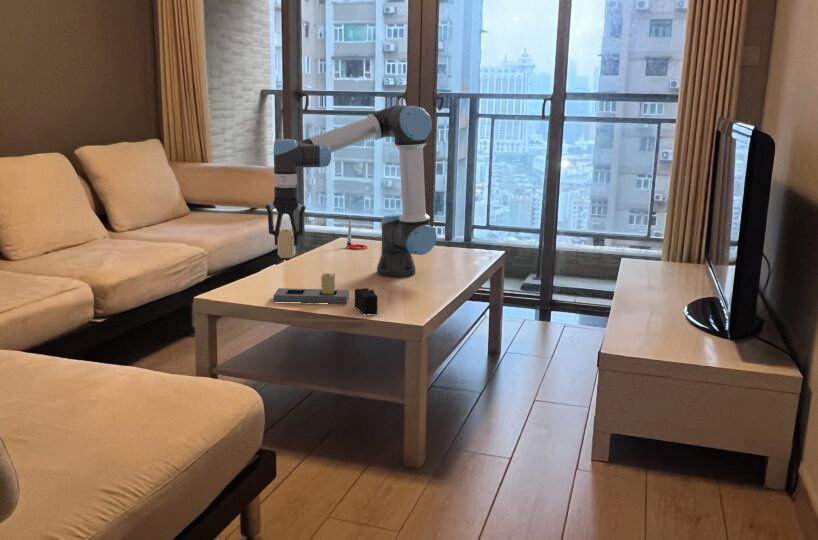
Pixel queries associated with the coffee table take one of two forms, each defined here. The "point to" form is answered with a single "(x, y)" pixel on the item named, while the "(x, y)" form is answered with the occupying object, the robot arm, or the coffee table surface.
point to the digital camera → (366, 301)
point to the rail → (310, 296)
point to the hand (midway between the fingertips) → (286, 254)
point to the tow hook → (353, 244)
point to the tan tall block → (285, 243)
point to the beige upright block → (328, 284)
